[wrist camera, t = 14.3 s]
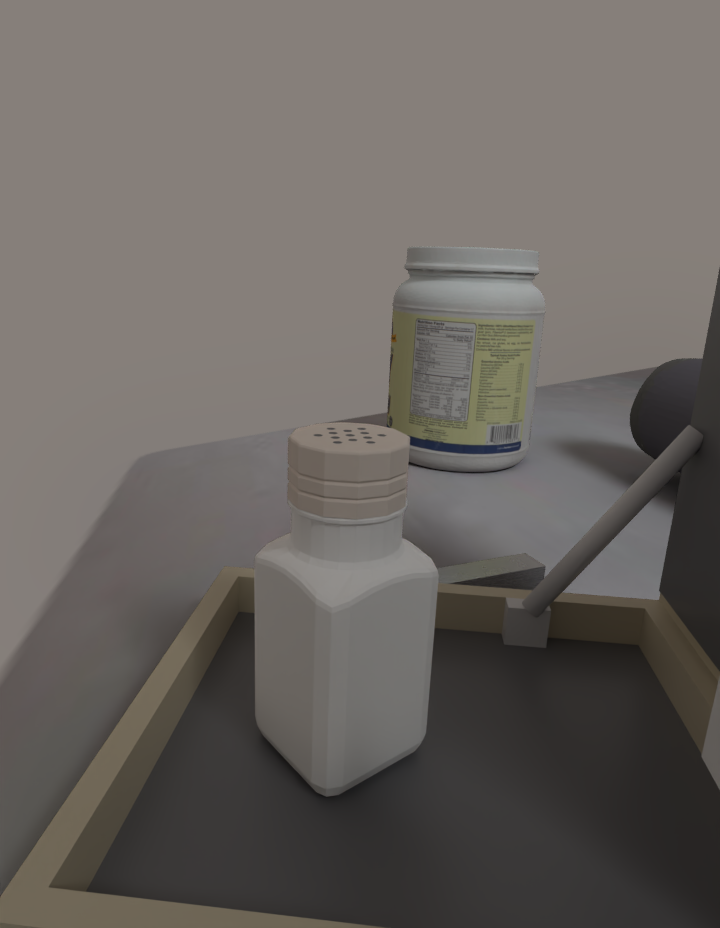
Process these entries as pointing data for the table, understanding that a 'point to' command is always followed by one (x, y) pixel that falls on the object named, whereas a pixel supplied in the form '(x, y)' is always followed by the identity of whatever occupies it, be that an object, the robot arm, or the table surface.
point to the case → (430, 762)
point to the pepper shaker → (344, 611)
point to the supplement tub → (466, 356)
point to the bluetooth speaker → (665, 405)
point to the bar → (496, 573)
